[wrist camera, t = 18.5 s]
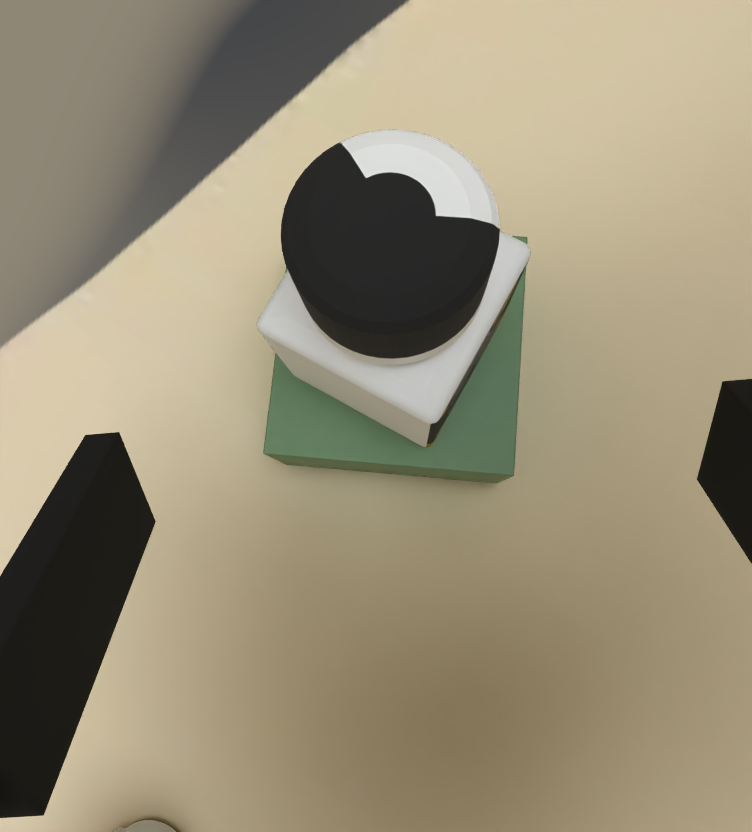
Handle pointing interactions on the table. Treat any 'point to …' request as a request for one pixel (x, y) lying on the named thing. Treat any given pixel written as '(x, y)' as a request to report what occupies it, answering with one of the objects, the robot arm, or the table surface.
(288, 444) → the green block
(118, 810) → the table surface
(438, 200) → the medicine bottle
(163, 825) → the white rounded upright block
